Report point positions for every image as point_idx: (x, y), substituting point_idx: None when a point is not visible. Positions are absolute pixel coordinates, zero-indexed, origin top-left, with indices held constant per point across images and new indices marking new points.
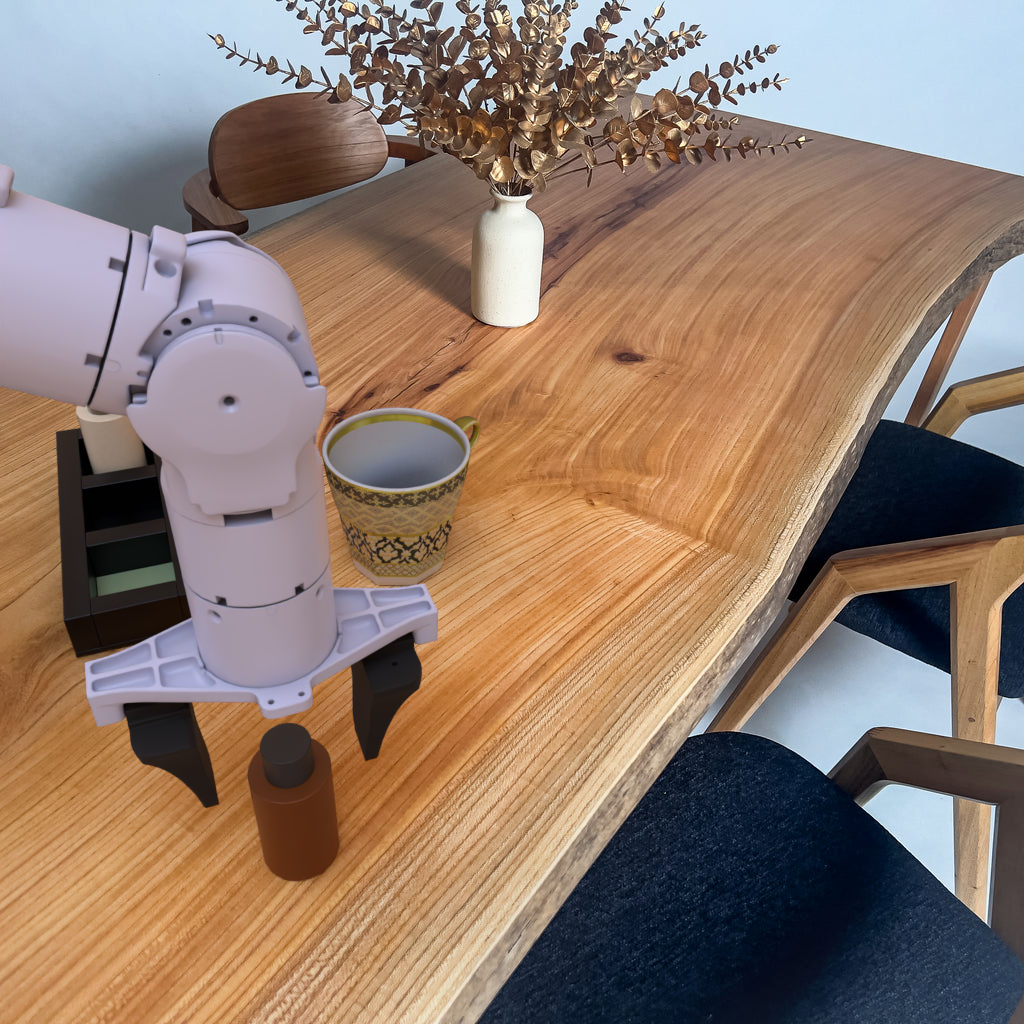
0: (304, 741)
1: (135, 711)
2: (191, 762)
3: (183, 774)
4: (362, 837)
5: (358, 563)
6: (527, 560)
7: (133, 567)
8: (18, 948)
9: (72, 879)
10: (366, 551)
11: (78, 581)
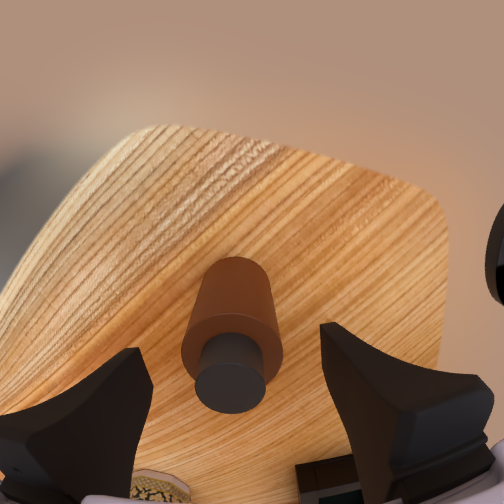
0: (204, 387)
1: (480, 463)
2: (383, 379)
3: (385, 361)
4: (181, 287)
5: (185, 491)
6: None
7: (340, 494)
8: (443, 245)
9: (412, 291)
10: (174, 502)
11: None
